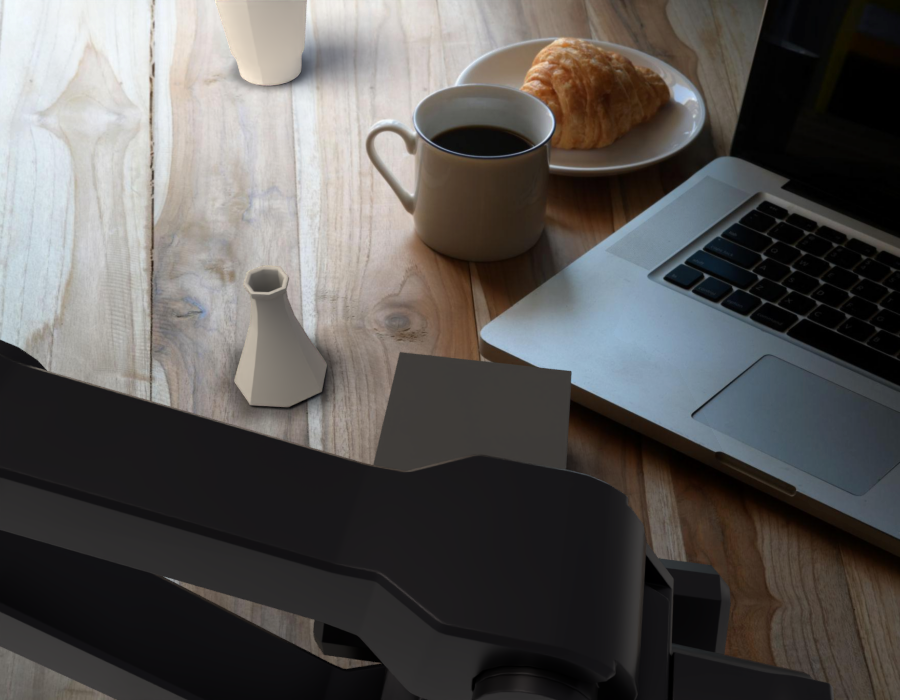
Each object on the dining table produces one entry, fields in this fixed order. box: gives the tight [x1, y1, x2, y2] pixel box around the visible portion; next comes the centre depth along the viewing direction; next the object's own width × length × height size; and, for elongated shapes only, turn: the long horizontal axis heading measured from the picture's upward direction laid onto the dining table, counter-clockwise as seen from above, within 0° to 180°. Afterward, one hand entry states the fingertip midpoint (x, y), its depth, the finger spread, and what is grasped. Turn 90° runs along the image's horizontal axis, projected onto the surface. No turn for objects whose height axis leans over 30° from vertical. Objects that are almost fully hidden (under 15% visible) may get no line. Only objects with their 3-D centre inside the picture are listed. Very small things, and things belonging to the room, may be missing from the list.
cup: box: [214, 0, 308, 87], centre depth 99 cm, size 12×12×16 cm
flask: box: [233, 264, 328, 408], centre depth 69 cm, size 7×7×10 cm
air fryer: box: [372, 351, 572, 471], centre depth 61 cm, size 12×12×9 cm
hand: (518, 566), depth 52 cm, fingers closed
